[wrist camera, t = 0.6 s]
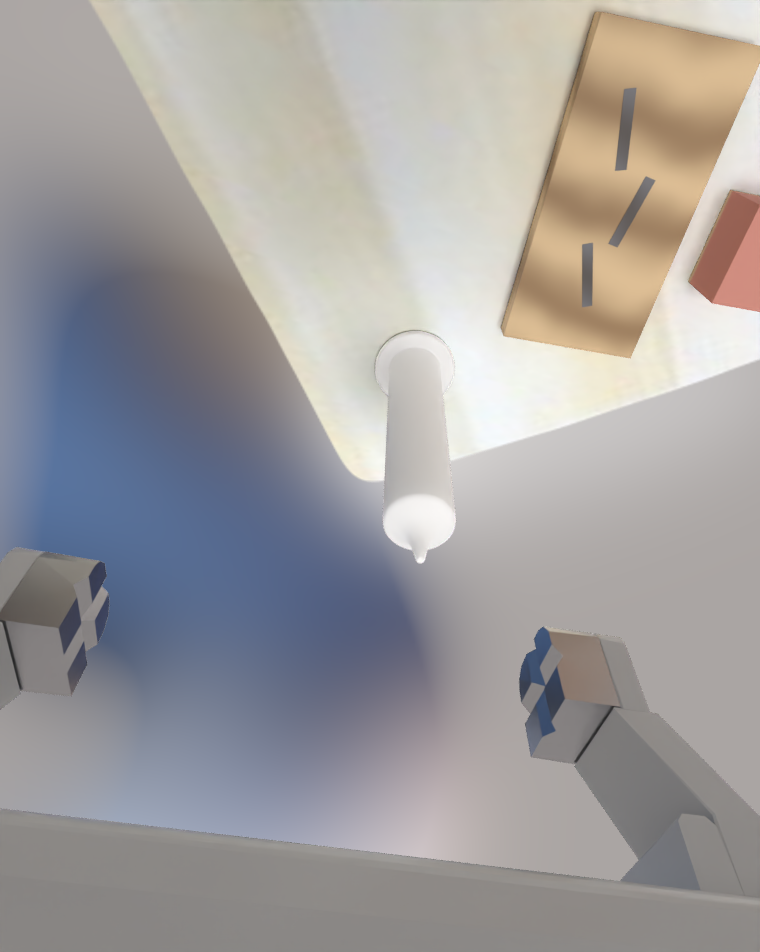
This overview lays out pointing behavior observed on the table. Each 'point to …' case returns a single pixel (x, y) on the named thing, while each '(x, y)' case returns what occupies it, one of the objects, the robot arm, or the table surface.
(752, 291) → the block
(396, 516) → the candle
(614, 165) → the plank
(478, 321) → the table surface
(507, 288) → the table surface
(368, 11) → the table surface
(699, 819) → the robot arm
